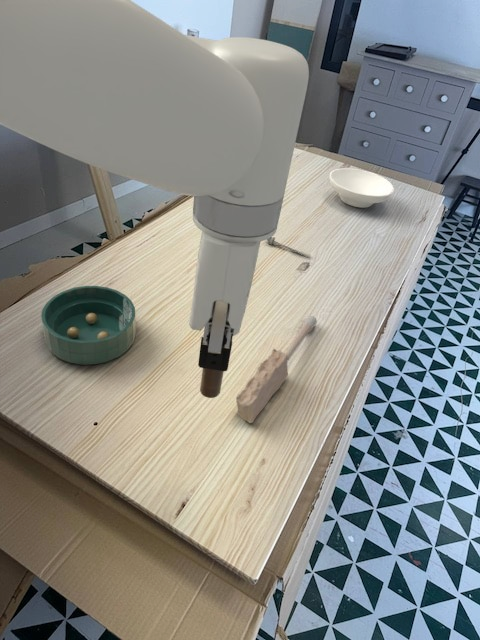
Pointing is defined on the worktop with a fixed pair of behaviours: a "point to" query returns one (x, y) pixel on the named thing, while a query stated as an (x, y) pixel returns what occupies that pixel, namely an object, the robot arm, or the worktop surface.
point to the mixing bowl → (72, 312)
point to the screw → (271, 240)
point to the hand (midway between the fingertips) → (214, 356)
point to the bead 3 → (103, 335)
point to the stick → (211, 381)
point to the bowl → (360, 187)
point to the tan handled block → (269, 377)
